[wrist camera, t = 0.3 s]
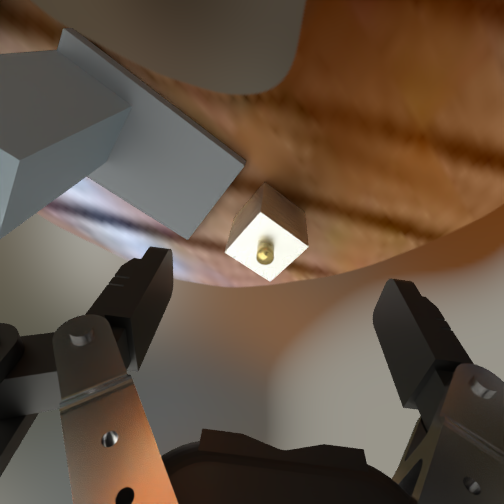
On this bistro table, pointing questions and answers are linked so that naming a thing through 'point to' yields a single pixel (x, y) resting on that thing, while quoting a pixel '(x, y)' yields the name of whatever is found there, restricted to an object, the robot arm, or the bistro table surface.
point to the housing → (268, 233)
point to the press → (101, 139)
